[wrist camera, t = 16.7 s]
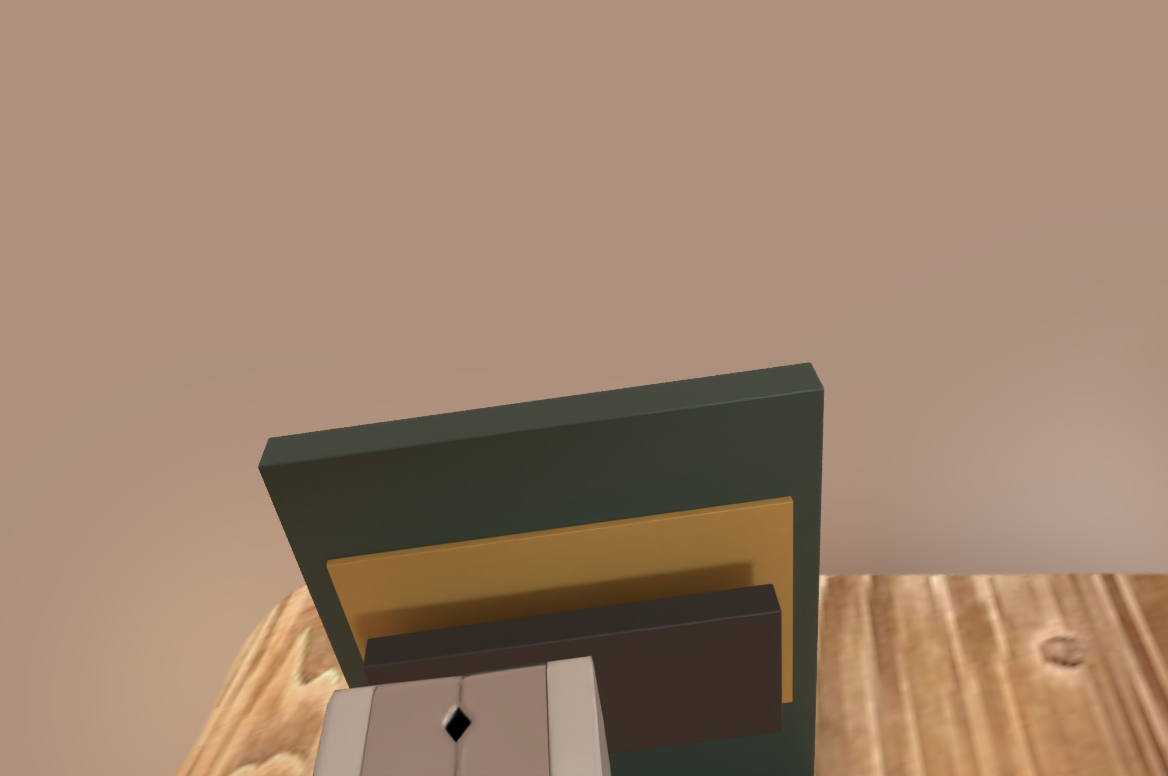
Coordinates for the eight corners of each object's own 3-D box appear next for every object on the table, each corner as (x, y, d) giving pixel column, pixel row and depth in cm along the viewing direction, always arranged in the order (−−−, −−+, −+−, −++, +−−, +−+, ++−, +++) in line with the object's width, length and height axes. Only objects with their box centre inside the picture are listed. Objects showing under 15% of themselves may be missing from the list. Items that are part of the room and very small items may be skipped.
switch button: (782, 732, 31) (782, 610, 28) (406, 782, 31) (361, 668, 28) (774, 702, 32) (772, 582, 29) (410, 751, 32) (367, 637, 29)
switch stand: (863, 964, 33) (903, 539, 22) (400, 1024, 33) (193, 636, 22) (782, 690, 43) (779, 300, 32) (425, 738, 43) (293, 368, 32)
